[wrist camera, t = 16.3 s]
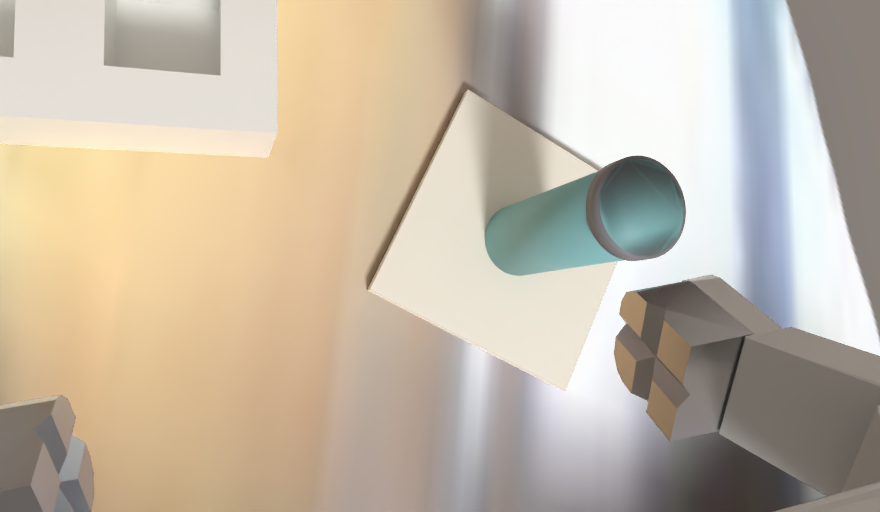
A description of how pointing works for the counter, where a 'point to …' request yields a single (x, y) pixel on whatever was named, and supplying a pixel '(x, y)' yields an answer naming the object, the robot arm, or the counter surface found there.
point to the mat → (465, 256)
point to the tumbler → (591, 220)
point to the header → (140, 75)
